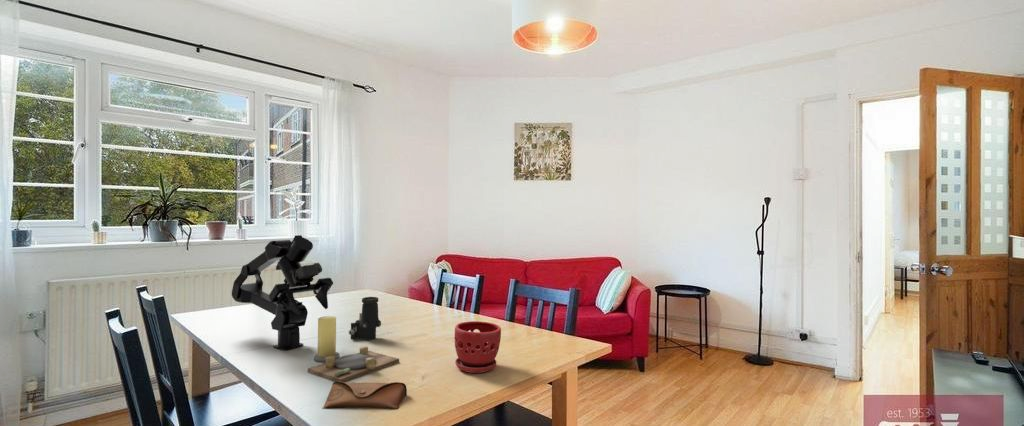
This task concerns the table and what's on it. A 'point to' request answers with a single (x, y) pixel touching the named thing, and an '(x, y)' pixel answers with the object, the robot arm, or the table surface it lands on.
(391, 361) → the board
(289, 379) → the table surface
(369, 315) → the scope
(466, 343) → the plant pot
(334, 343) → the yellow pillar candle
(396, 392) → the sunglasses case
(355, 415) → the table surface
